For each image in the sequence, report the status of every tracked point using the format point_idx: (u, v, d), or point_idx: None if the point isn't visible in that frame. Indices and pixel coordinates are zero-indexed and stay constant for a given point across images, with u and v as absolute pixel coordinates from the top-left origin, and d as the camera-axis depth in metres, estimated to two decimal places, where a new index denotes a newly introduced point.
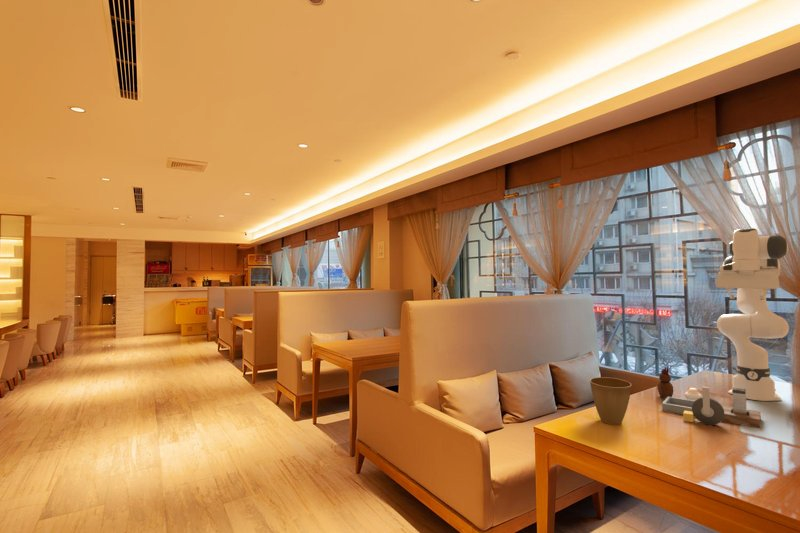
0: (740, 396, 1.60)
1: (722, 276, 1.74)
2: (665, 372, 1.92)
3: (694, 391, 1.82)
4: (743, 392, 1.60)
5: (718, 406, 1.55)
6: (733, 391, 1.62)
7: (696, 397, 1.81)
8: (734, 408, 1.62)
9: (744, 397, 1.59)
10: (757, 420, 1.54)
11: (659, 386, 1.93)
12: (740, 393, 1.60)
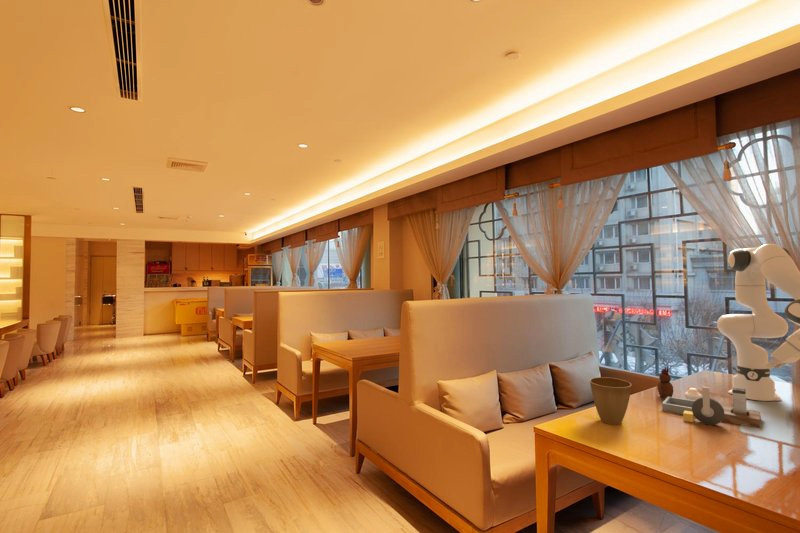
0: (740, 396, 1.60)
1: None
2: (665, 372, 1.92)
3: (694, 391, 1.82)
4: (743, 392, 1.60)
5: (718, 406, 1.55)
6: (733, 391, 1.62)
7: (696, 397, 1.81)
8: (734, 408, 1.62)
9: (744, 397, 1.59)
10: (757, 420, 1.54)
11: (659, 386, 1.93)
12: (740, 393, 1.60)
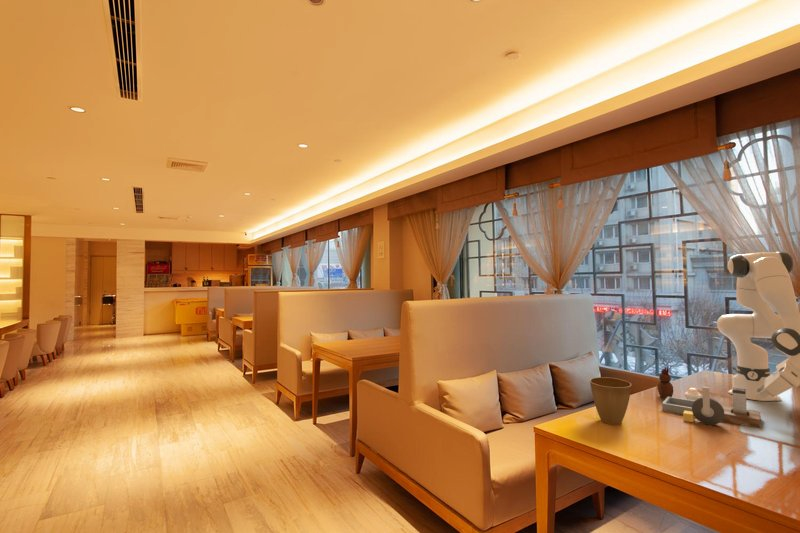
0: (740, 396, 1.60)
1: None
2: (665, 372, 1.92)
3: (694, 391, 1.82)
4: (743, 392, 1.60)
5: (718, 406, 1.55)
6: (733, 391, 1.62)
7: (696, 397, 1.81)
8: (734, 408, 1.62)
9: (744, 397, 1.59)
10: (757, 420, 1.54)
11: (659, 386, 1.93)
12: (740, 393, 1.60)
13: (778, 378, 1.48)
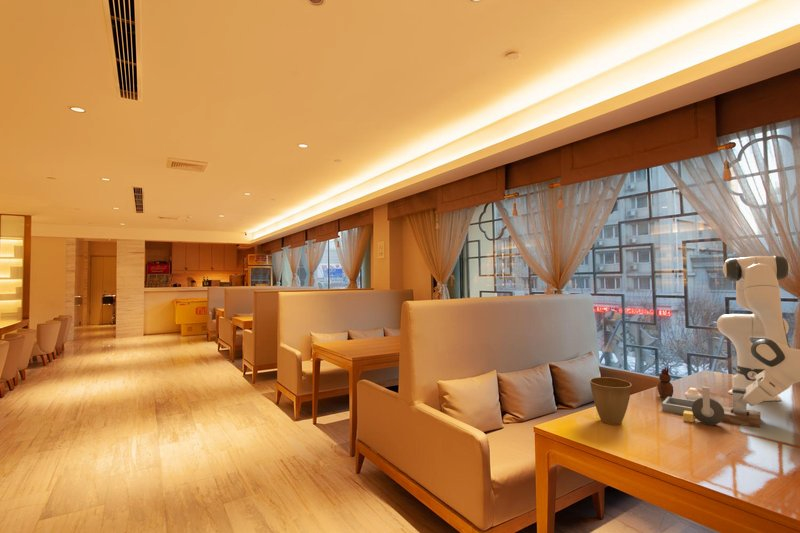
0: (740, 396, 1.60)
1: None
2: (665, 372, 1.92)
3: (694, 391, 1.82)
4: (743, 392, 1.60)
5: (718, 406, 1.55)
6: (733, 391, 1.62)
7: (696, 397, 1.81)
8: (734, 408, 1.62)
9: None
10: (757, 420, 1.54)
11: (659, 386, 1.93)
12: (740, 393, 1.60)
13: (756, 388, 1.52)
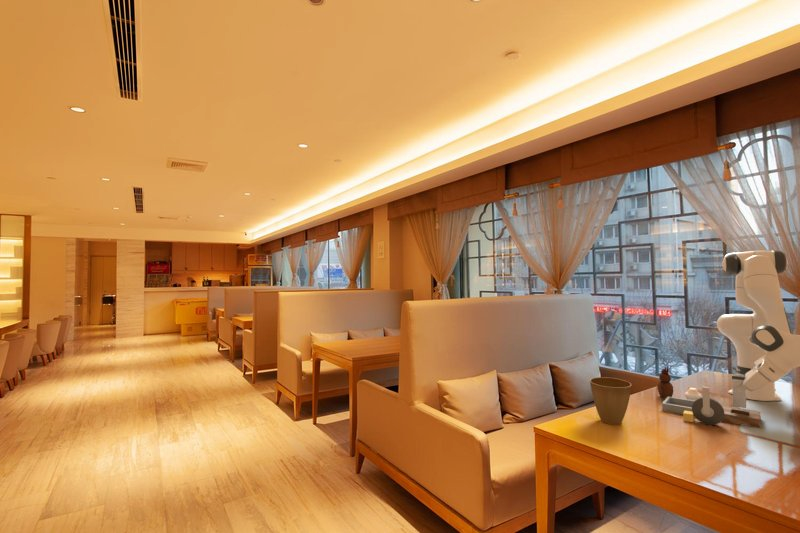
0: (740, 382, 1.61)
1: None
2: (665, 372, 1.92)
3: (694, 391, 1.82)
4: (742, 378, 1.60)
5: (718, 406, 1.55)
6: (733, 377, 1.62)
7: (696, 397, 1.81)
8: (734, 394, 1.62)
9: None
10: (757, 420, 1.54)
11: (659, 386, 1.93)
12: (740, 379, 1.61)
13: (756, 374, 1.52)
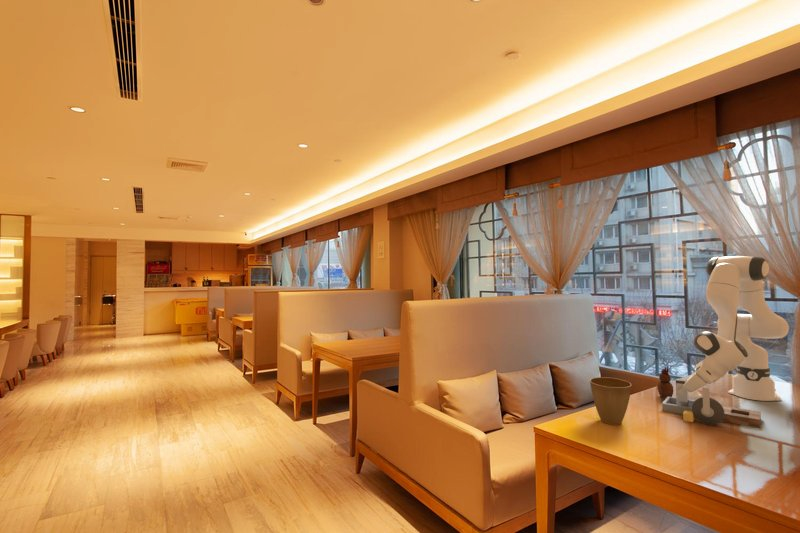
0: None
1: None
2: (665, 372, 1.92)
3: (694, 391, 1.82)
4: None
5: (718, 406, 1.55)
6: (676, 381, 1.75)
7: (696, 397, 1.81)
8: (677, 397, 1.75)
9: None
10: (757, 420, 1.54)
11: (659, 386, 1.93)
12: (682, 383, 1.73)
13: (694, 376, 1.65)
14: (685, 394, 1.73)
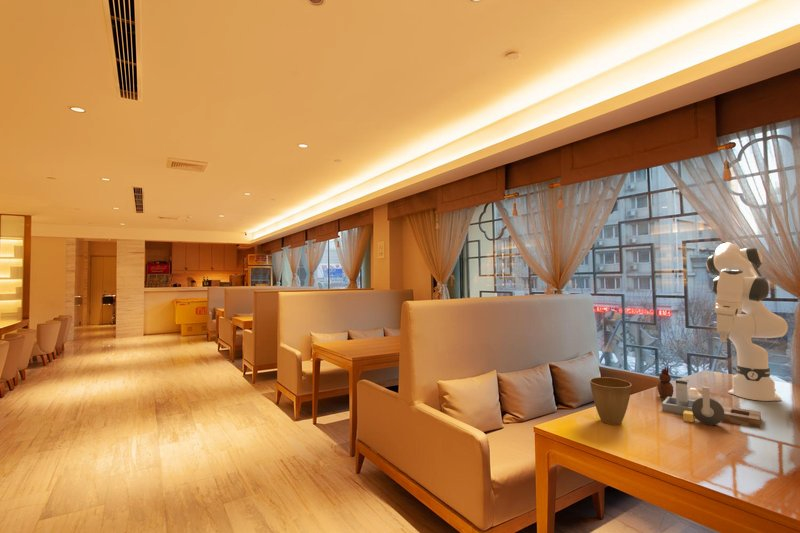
0: (682, 386, 1.73)
1: None
2: (665, 372, 1.92)
3: (694, 391, 1.82)
4: (685, 382, 1.73)
5: (718, 406, 1.55)
6: (676, 382, 1.75)
7: (696, 397, 1.81)
8: (677, 397, 1.75)
9: (686, 387, 1.72)
10: (757, 420, 1.54)
11: (659, 386, 1.93)
12: (682, 383, 1.73)
13: (718, 316, 1.64)
14: (685, 394, 1.73)
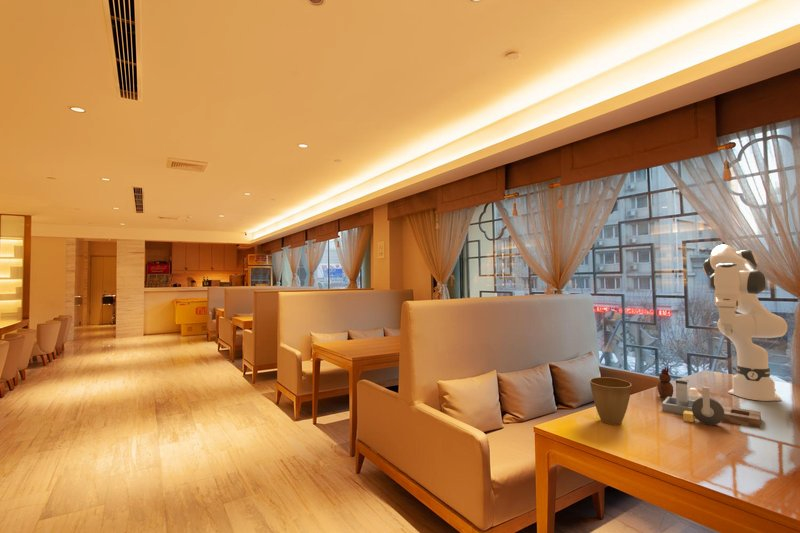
0: (682, 386, 1.73)
1: None
2: (665, 372, 1.92)
3: (694, 391, 1.82)
4: (685, 382, 1.73)
5: (718, 406, 1.55)
6: (676, 382, 1.75)
7: (696, 397, 1.81)
8: (677, 397, 1.75)
9: (686, 387, 1.72)
10: (757, 420, 1.54)
11: (659, 386, 1.93)
12: (682, 383, 1.73)
13: (719, 309, 1.65)
14: (685, 394, 1.73)
